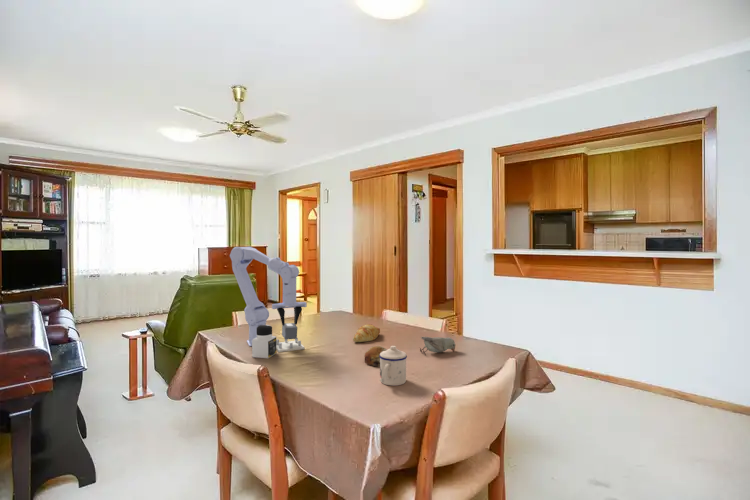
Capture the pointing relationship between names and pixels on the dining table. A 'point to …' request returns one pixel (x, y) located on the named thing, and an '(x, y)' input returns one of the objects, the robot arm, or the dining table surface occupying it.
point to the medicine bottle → (264, 342)
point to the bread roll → (373, 355)
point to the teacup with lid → (393, 367)
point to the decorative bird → (438, 344)
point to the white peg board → (289, 345)
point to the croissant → (366, 333)
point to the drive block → (289, 331)
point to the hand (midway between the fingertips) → (289, 324)
